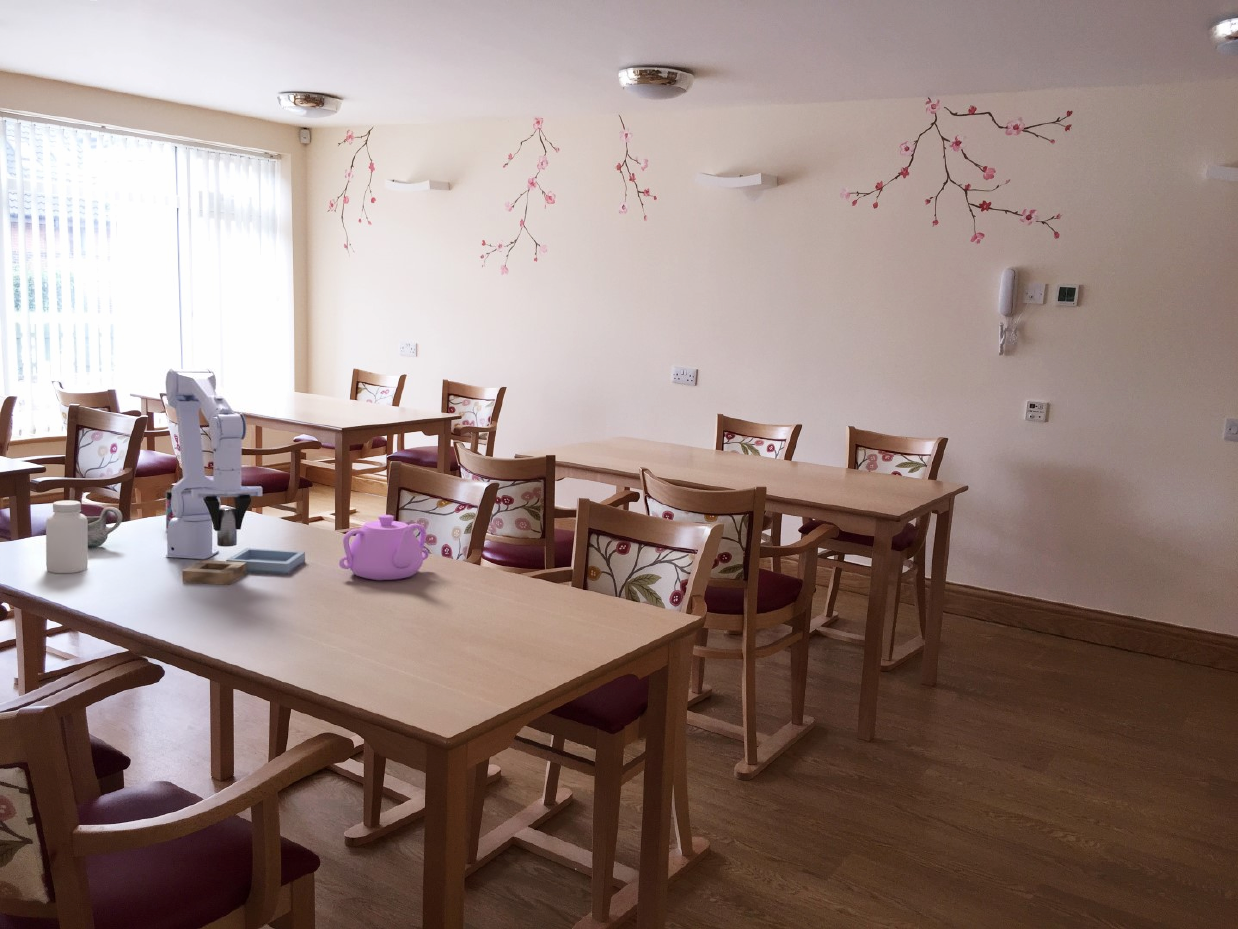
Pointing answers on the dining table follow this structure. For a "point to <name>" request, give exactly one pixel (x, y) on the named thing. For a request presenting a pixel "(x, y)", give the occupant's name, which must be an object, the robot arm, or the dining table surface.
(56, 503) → the pill bottle
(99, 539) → the mug
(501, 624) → the dining table surface
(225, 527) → the pin
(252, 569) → the tray
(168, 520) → the supplement container
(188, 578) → the socket block
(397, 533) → the pink lidded pot
